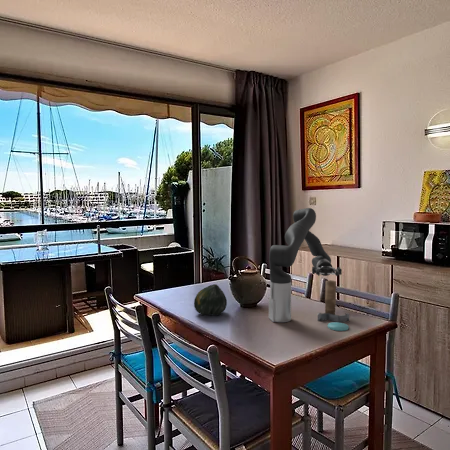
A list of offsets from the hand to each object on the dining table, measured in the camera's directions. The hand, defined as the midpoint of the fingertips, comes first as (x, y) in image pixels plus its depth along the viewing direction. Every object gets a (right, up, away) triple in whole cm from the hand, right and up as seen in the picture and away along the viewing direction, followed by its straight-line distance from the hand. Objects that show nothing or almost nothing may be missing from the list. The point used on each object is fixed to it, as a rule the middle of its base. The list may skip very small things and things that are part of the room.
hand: (328, 273), depth 187 cm
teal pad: (-3, -19, -25) cm, 32 cm away
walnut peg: (-2, -18, -10) cm, 21 cm away
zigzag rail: (-2, -19, -17) cm, 25 cm away
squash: (-57, -18, -6) cm, 60 cm away
